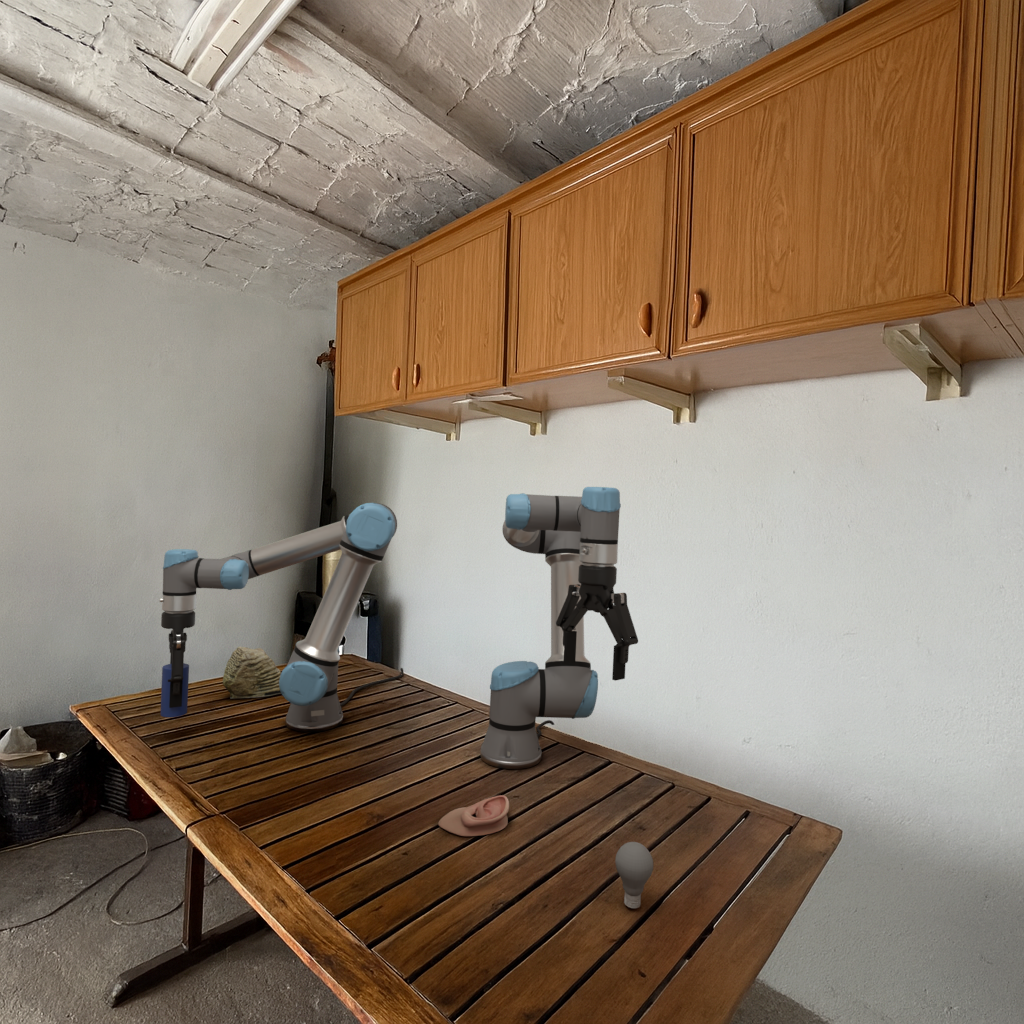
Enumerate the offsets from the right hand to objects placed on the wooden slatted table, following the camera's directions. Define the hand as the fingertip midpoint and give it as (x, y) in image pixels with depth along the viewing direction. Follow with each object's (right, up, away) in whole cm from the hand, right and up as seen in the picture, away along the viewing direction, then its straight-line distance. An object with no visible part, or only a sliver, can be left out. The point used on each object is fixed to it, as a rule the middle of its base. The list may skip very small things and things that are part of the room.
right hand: (592, 670), depth 126 cm
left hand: (-101, -16, +33) cm, 107 cm away
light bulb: (+3, -32, -25) cm, 40 cm away
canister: (-101, -19, +33) cm, 108 cm away
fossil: (-97, -26, +72) cm, 123 cm away
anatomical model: (-24, -30, -1) cm, 38 cm away
